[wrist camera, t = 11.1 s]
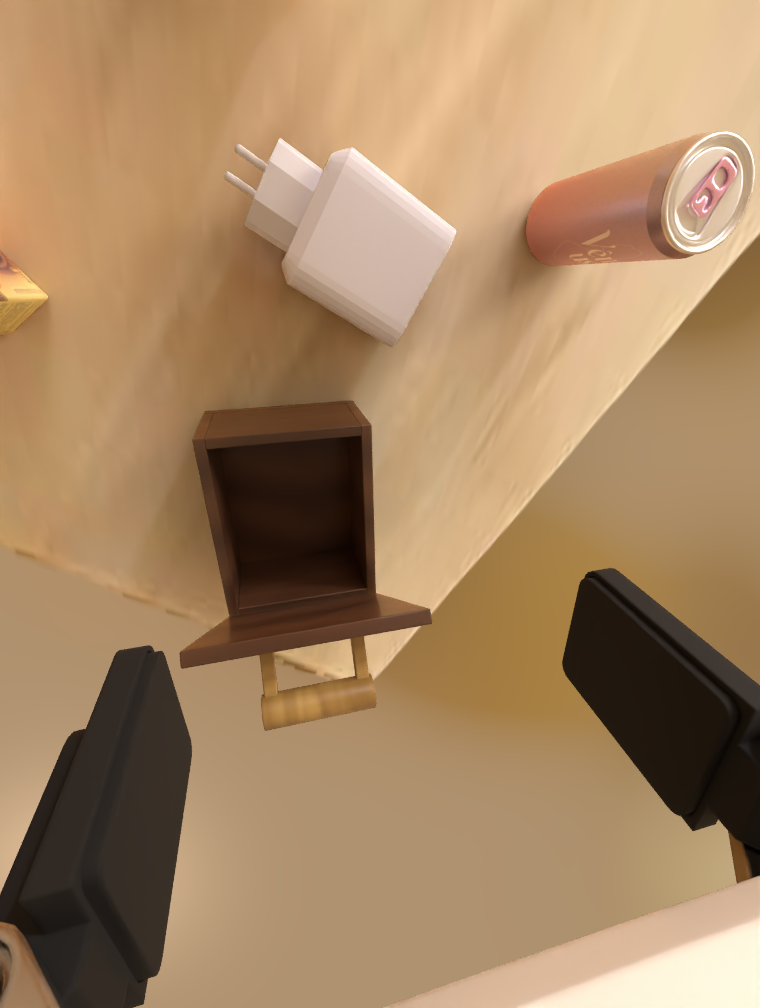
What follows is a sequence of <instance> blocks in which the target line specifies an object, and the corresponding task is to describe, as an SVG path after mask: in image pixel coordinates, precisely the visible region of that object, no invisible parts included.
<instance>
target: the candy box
mask: <svg viewBox="0 0 760 1008" xmlns="http://www.w3.org/2000/svg"><path fill="white" fill-rule="evenodd" d="M47 299H48V296H47V295H46V294H45V293H44V292H43V291H42V290H41V289H40V288H39V287H38V286H36V285H35V284H34V283H33V282H32V281H31V280H30V279H29V278H28V277H27V276H26V275H25V274H24V273H23V272H22V271H21V270H20V269H19V268H18V267H16V266H15V265H14V264H13V263H12V262H11V261H10V260H9V259H8V258H7V257H6V256H5V255H4V254H3V253H2V252H1V251H0V335H3V334H8V333H12V332H13V331H14V330H15V329H16V328H17V327H18V326H19V325H21V324H22V323H23V322H24V321H25V320H26V319H27V318H28V317H29V316H30V315H31V314H32V313H33V312H34V311H35V310H37V309H38V308H39V307H40V306H41V305H42V304H43V303H44V302H45V301H46V300H47Z"/></svg>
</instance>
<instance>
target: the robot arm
mask: <svg viewBox="0 0 760 1008" xmlns="http://www.w3.org/2000/svg"><path fill="white" fill-rule="evenodd" d="M562 664H563V670H564V672H565V674H566V676H567V678H568V679H569V680H570V682H571V683H572V684H573V685H574V687H575V688H576V689H577V690H578V692H579V693H580V694H581V696H582V697H583V698H584V700H585V701H586V702H587V703H588V705H589V706H590V707H591V709H592V710H593V711H594V713H595V714H596V715H597V716H598V718H599V719H600V720H601V722H602V723H603V724H604V725H605V727H606V728H607V729H608V731H609V732H610V733H611V734H612V736H613V737H614V738H615V739H616V741H617V742H618V743H619V744H620V746H621V747H622V749H623V750H624V751H625V753H626V754H627V755H628V756H629V757H630V759H631V760H632V761H633V763H634V764H635V765H636V767H637V768H638V769H639V771H640V772H641V773H642V774H643V776H644V777H645V778H646V779H647V781H648V782H649V783H650V785H651V786H652V787H653V788H654V790H655V791H656V792H657V794H658V795H659V796H660V798H661V799H662V800H663V801H664V803H665V804H666V805H667V807H668V808H669V809H670V810H671V811H672V812H673V813H675V814H677V815H679V816H681V817H682V818H683V819H684V820H685V822H686V823H687V824H688V826H689V827H690V828H691V829H692V831H695V830H699V829H701V828H705V827H708V826H711V825H714V824H716V822H717V820H718V819H719V820H720V822H721V823H722V824H723V825H724V826H725V827H726V829H727V830H728V833H729V839H730V845H731V851H732V857H733V863H734V869H735V875H736V881H737V884H734V885H731V886H728V887H726V888H722V889H720V890H717V891H714V892H711V893H708V894H705V895H702V896H699V897H696V898H693V899H691V900H687V901H685V902H682V903H679V904H676V905H673V906H670V907H667V908H664V909H661V910H658V911H655V912H653V913H650V914H647V915H644V916H641V917H638V918H635V919H632V920H630V921H627V922H624V923H621V924H618V925H615V926H612V927H610V928H607V929H604V930H601V931H598V932H595V933H593V934H590V935H587V936H584V937H581V938H578V939H575V940H572V941H570V942H567V943H564V944H561V945H558V946H555V947H552V948H549V949H547V950H544V951H541V952H538V953H536V954H532V955H530V956H527V957H524V958H521V959H519V960H515V961H512V962H510V963H507V964H504V965H501V966H498V967H495V968H493V969H490V970H487V971H484V972H481V973H478V974H476V975H473V976H470V977H467V978H464V979H462V980H459V981H456V982H453V983H450V984H448V985H445V986H442V987H439V988H436V989H433V990H431V991H428V992H425V993H422V994H419V995H417V996H414V997H411V998H408V999H405V1000H403V1001H400V1002H397V1003H394V1004H391V1005H389V1006H386V1007H383V1008H760V685H759V684H757V683H756V682H755V681H754V680H752V679H751V678H750V677H748V676H747V675H746V674H745V673H744V672H742V671H741V670H740V669H739V668H737V667H736V666H735V665H734V664H733V663H731V662H730V661H729V660H728V659H726V658H725V657H724V656H723V655H721V654H720V653H719V652H718V651H716V650H715V649H714V648H713V647H712V646H710V645H709V644H708V643H706V642H705V641H704V640H703V639H702V638H700V637H699V636H698V635H697V634H695V633H694V632H693V631H692V630H691V629H689V628H688V627H687V626H686V625H684V624H683V623H682V622H681V621H679V620H678V619H677V618H676V617H674V616H673V615H672V614H671V613H669V612H668V611H667V610H666V609H665V608H663V607H662V606H661V605H660V604H658V603H657V602H656V601H655V600H653V599H652V598H651V597H650V596H648V595H647V594H646V593H645V592H644V591H642V590H641V589H640V588H639V587H637V586H636V585H635V584H634V583H632V582H631V581H630V580H629V579H627V578H626V577H625V576H624V575H623V574H621V573H620V572H619V571H617V570H616V569H613V568H608V569H602V570H596V571H591V572H588V573H587V574H586V575H585V578H584V579H583V580H581V582H580V585H579V589H578V593H577V598H576V602H575V607H574V611H573V616H572V620H571V625H570V629H569V634H568V638H567V643H566V647H565V652H564V656H563V662H562ZM191 757H192V746H191V739H190V736H189V732H188V729H187V726H186V723H185V720H184V716H183V713H182V710H181V707H180V703H179V700H178V697H177V694H176V690H175V687H174V684H173V681H172V677H171V674H170V671H169V668H168V664H167V661H166V658H165V655H164V653H163V652H162V651H158V652H154V650H153V648H152V647H151V646H142V647H137V648H131V649H124V650H119V651H118V652H117V653H116V654H115V656H114V659H113V661H112V664H111V666H110V669H109V671H108V674H107V676H106V679H105V681H104V684H103V687H102V690H101V692H100V694H99V697H98V699H97V702H96V704H95V707H94V710H93V712H92V715H91V717H90V720H89V722H88V725H87V727H86V729H83V730H78V731H75V732H73V733H72V734H71V735H70V736H69V737H68V739H67V740H66V742H65V744H64V746H63V748H62V751H61V753H60V755H59V758H58V760H57V762H56V765H55V767H54V769H53V772H52V774H51V776H50V779H49V781H48V783H47V786H46V788H45V791H44V793H43V795H42V798H41V800H40V802H39V805H38V807H37V809H36V812H35V814H34V816H33V819H32V821H31V824H30V826H29V828H28V831H27V833H26V835H25V837H24V840H23V842H22V845H21V847H20V849H19V852H18V854H17V856H16V859H15V861H14V864H13V866H12V868H11V870H10V873H9V875H8V877H7V880H6V882H5V884H4V887H3V889H2V892H1V894H0V1008H133V1007H136V1006H139V1005H143V1004H144V999H145V993H146V987H147V981H148V978H151V977H154V976H156V975H157V974H158V972H159V970H160V966H161V961H162V957H163V950H164V943H165V935H166V929H167V922H168V916H169V909H170V902H171V895H172V888H173V881H174V874H175V868H176V861H177V854H178V846H179V840H180V833H181V827H182V819H183V812H184V806H185V799H186V792H187V785H188V778H189V772H190V765H191Z"/></svg>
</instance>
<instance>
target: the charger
mask: <svg viewBox="0 0 760 1008" xmlns="http://www.w3.org/2000/svg"><path fill="white" fill-rule="evenodd" d="M235 152H236V153H237V154H239V155H240V156H241V157H243V158H244V159H246V160H247V161H248V162H250V163H251V164H253V165H254V166H256V167H257V168H258V169H260V170H261V171H263V172H264V175H263V177H262V179H261V182H260V184H259V187H258V189H257V191H256V190H255V189H253V188H252V187H250V186H249V185H247V184H246V183H245V182H243V181H242V180H240V179H239V178H237V177H236V176H234V175H233V174H231V173H230V172H226V173H225V175H224V178H225V180H226V181H228V182H229V183H231V184H232V185H234V186H235V187H237V188H238V189H240V190H241V191H243V192H244V193H246V194H247V195H249V196H250V197H252V198H253V201H252V204H251V207H250V209H249V212H248V215H247V217H246V220H245V223H244V226H246V227H247V228H249V229H250V230H252V231H254V232H255V233H257V234H258V235H260V236H261V237H263V238H264V239H266V240H267V241H269V242H271V243H272V244H274V245H275V246H277V247H278V248H280V249H281V250H283V251H285V252H286V254H285V256H284V259H283V261H282V263H281V266H282V270H283V273H284V276H285V279H286V283H287V284H288V285H289V286H291V287H293V288H294V289H296V290H297V291H299V292H301V293H302V294H304V295H306V296H307V297H309V298H310V299H312V300H314V301H315V302H317V303H319V304H320V305H322V306H324V307H325V308H327V309H328V310H330V311H332V312H333V313H335V314H337V315H338V316H340V317H341V318H343V319H345V320H346V321H348V322H350V323H351V324H353V325H354V326H356V327H358V328H359V329H361V330H363V331H364V332H366V333H367V334H369V335H371V336H372V337H374V338H376V339H377V340H379V341H380V342H382V343H384V344H386V345H388V346H390V347H393V346H394V345H395V344H396V343H397V341H398V340H399V338H400V337H401V335H402V334H403V332H404V330H405V328H406V327H407V325H408V323H409V321H410V319H411V318H412V316H413V314H414V312H415V310H416V308H417V307H418V305H419V303H420V301H421V299H422V297H423V296H424V294H425V292H426V290H427V288H428V286H429V285H430V283H431V281H432V279H433V277H434V276H435V274H436V272H437V270H438V268H439V266H440V265H441V263H442V261H443V259H444V257H445V255H446V254H447V252H448V250H449V248H450V246H451V244H452V242H453V240H454V237H455V234H456V230H455V229H454V228H453V227H451V226H450V225H449V224H448V223H446V222H445V221H444V220H443V219H441V218H440V217H439V216H438V215H436V214H435V213H434V212H433V211H431V210H430V209H429V208H428V207H426V206H425V205H424V204H423V203H421V202H420V201H419V200H418V199H416V198H415V197H414V196H413V195H411V194H410V193H409V192H408V191H406V190H405V189H404V188H403V187H401V186H400V185H399V184H397V183H396V182H395V181H394V180H392V179H391V178H390V177H389V176H387V175H386V174H385V173H384V172H382V171H381V170H380V169H379V168H377V167H376V166H375V165H374V164H372V163H371V162H370V161H369V160H367V159H366V158H365V157H364V156H362V155H361V154H360V153H359V152H357V151H356V150H355V149H354V148H352V147H351V148H347V149H343V150H340V151H336V152H333V153H332V154H331V156H330V157H329V159H328V161H327V163H326V165H325V167H324V169H323V170H322V169H321V168H319V167H318V166H317V165H315V164H314V163H313V162H312V161H310V160H309V159H308V158H306V157H305V156H304V155H302V154H301V153H300V152H298V151H297V150H296V149H294V148H293V147H292V146H290V145H289V144H288V143H286V142H285V141H284V140H282V139H281V138H280V139H279V141H278V143H277V145H276V147H275V149H274V151H273V154H272V156H271V158H270V160H269V162H268V164H266V163H265V162H264V161H262V160H261V159H259V158H258V157H257V156H255V155H254V154H252V153H251V152H250V151H248V150H247V149H246V148H244V147H243V146H241V145H240V144H237V145H236V147H235Z"/></svg>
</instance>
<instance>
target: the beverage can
mask: <svg viewBox="0 0 760 1008" xmlns="http://www.w3.org/2000/svg"><path fill="white" fill-rule="evenodd" d="M753 184H754V162H753V157H752V154H751V151H750V149H749V147H748V145H747V144H746V142H745V141H744V140H743V139H742V138H741V137H739V136H738V135H736V134H734V133H730V132H717V133H702V134H697V135H694V136H691V137H688V138H685V139H682V140H679V141H676V142H674V143H671V144H668V145H665V146H662V147H659V148H656V149H653V150H650V151H647V152H644V153H641V154H638V155H635V156H632V157H629V158H626V159H623V160H620V161H617V162H615V163H612V164H609V165H606V166H603V167H600V168H597V169H594V170H591V171H588V172H585V173H582V174H579V175H576V176H573V177H570V178H567V179H564V180H561V181H559V182H556V183H553V184H551V185H549V186H548V187H547V188H545V189H544V190H543V191H542V192H541V193H540V194H539V195H538V197H537V198H536V199H535V201H534V203H533V205H532V207H531V209H530V212H529V215H528V219H527V224H526V237H527V242H528V245H529V248H530V250H531V252H532V254H533V255H534V256H535V258H536V259H537V260H539V261H540V262H542V263H543V264H546V265H550V266H559V265H577V264H595V263H613V262H631V261H649V260H667V259H682V258H687V257H690V256H693V255H695V254H700V253H704V252H707V251H709V250H711V249H713V248H715V247H716V246H718V245H719V244H720V243H722V242H723V241H724V240H725V239H726V238H727V237H728V236H729V235H730V234H731V233H732V232H733V230H734V229H735V228H736V226H737V225H738V223H739V222H740V220H741V219H742V217H743V215H744V213H745V211H746V209H747V206H748V204H749V201H750V198H751V194H752V190H753Z"/></svg>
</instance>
